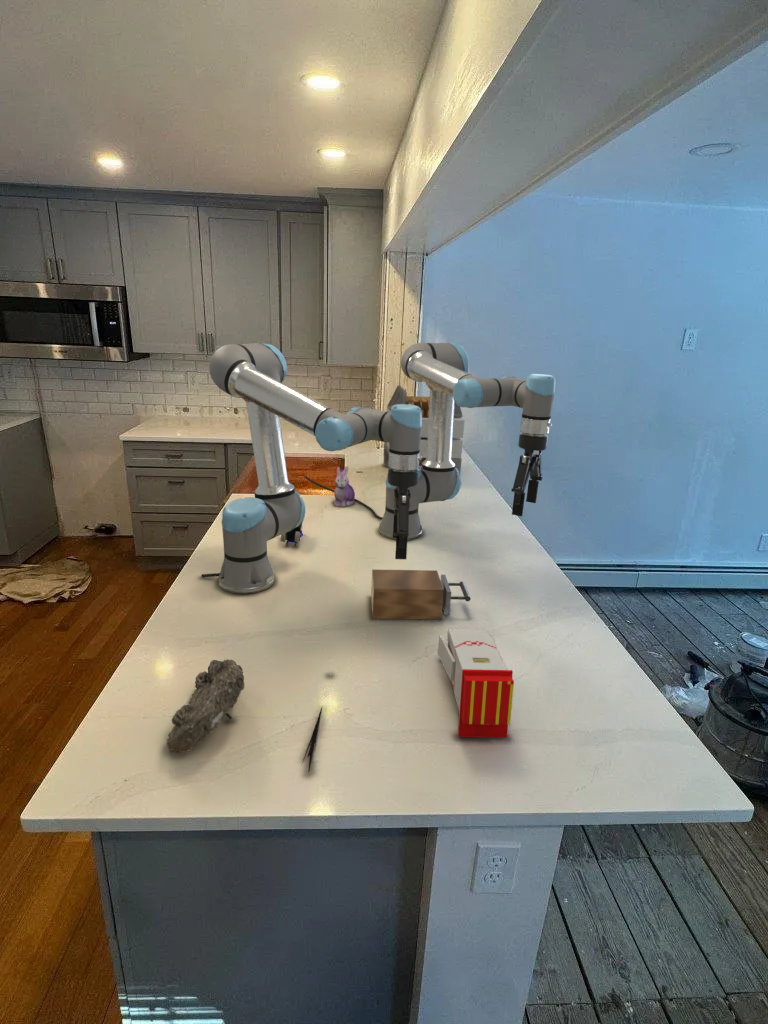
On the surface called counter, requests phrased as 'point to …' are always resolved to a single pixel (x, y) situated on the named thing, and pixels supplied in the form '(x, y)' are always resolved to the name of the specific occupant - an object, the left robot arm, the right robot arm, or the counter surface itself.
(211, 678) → the fossil
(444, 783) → the counter surface
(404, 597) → the cabinet
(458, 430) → the transformer
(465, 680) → the toy
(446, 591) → the drawer
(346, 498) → the figurine
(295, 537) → the figurine character
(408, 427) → the left robot arm
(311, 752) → the feather
